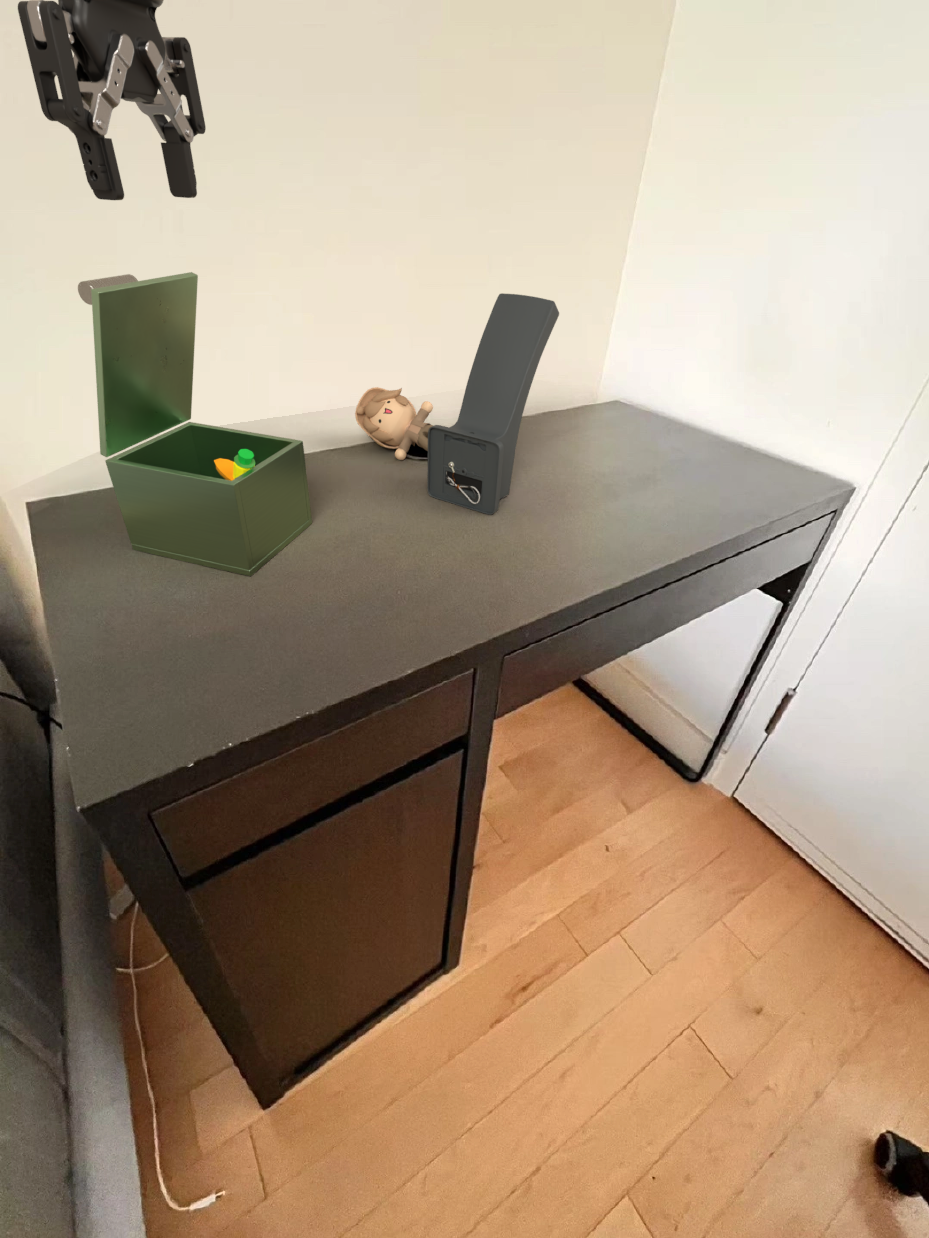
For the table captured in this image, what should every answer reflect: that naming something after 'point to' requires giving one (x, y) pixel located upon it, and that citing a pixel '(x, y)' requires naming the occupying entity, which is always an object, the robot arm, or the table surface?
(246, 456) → the toy figure
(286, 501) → the bin
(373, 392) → the action figure
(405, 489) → the table surface
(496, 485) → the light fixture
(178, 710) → the table surface
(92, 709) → the table surface
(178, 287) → the bin lid
